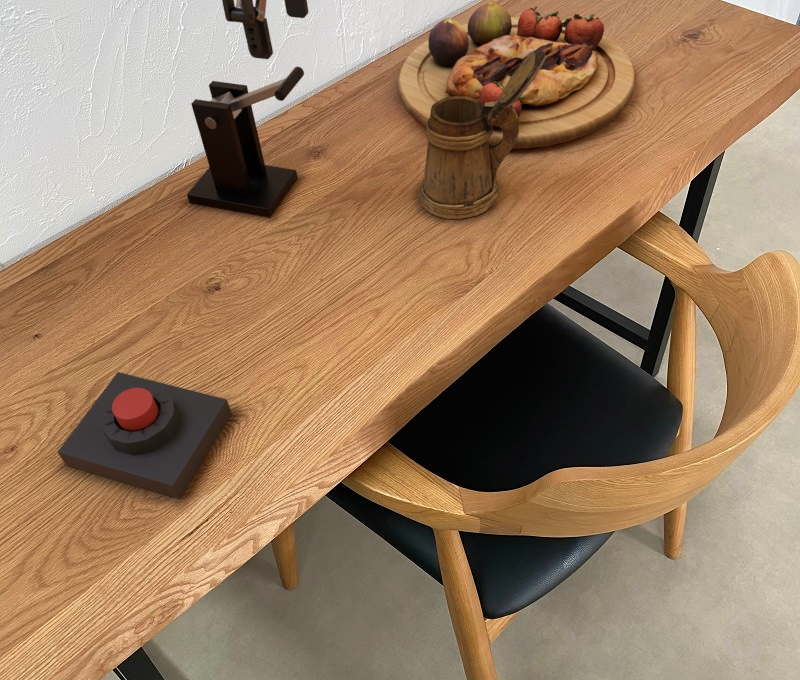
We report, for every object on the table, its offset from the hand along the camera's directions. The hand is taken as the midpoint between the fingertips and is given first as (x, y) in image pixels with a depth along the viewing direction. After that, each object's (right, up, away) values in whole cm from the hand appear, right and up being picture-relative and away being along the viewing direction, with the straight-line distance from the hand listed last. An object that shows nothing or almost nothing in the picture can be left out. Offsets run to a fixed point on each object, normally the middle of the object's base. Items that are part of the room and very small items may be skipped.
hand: (280, 35), depth 80 cm
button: (-11, -38, -9) cm, 41 cm away
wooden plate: (+28, +6, +29) cm, 41 cm away
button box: (-11, -40, -6) cm, 42 cm away
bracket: (-7, -11, +18) cm, 22 cm away
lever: (-4, -4, +8) cm, 10 cm away
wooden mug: (+21, -13, +14) cm, 29 cm away
